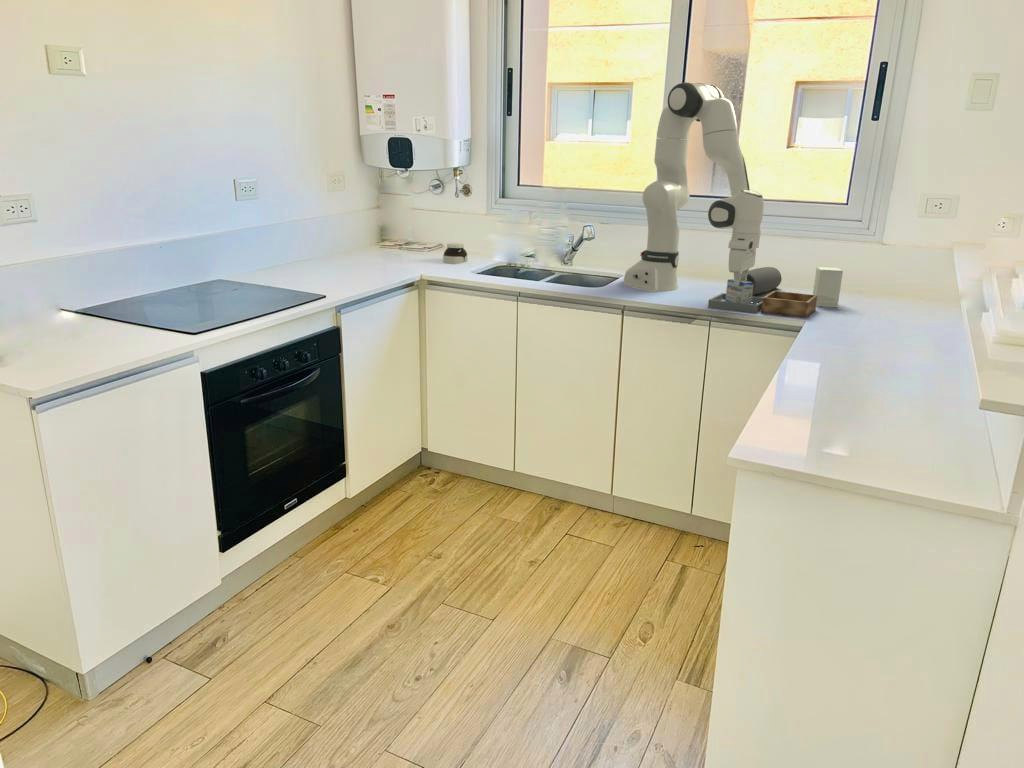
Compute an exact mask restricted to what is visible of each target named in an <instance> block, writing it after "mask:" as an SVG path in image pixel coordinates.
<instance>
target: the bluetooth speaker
mask: <svg viewBox="0 0 1024 768" xmlns="http://www.w3.org/2000/svg"><path fill="white" fill-rule="evenodd" d="M741 274H742V272H741ZM782 280H783V279H782V274H781V271H780V270H779V269H778V268H776V267H772V266H766V267H765V266H763V267H758V268H757V267H756V268H754V269H749V272H748V275H747V280H746V281H748V282H753V283H754V285H753V293H752V296H753V297H754V296H757V295H758V296H759V295H762V294H765V293H768V292H770V291H771V292H772V290H773V291H774V290H775V289H776V288H778V287H779V286H780V285H781V283H782Z"/></svg>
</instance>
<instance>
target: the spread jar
mask: <svg viewBox="0 0 1024 768" xmlns="http://www.w3.org/2000/svg"><path fill="white" fill-rule="evenodd" d="M464 246H465V244H464V243H463V242H448V243H446V247H447V248H445V251H444V253H443V256H442V257H443V258H442V259H443V261H442V262H443V263H444V264H449V265H460V264H465V263H467V262H468V252H467V251H466V249H465V248H464Z"/></svg>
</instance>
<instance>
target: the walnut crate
mask: <svg viewBox="0 0 1024 768" xmlns="http://www.w3.org/2000/svg"><path fill="white" fill-rule="evenodd" d="M762 298H763V301H762V310H761V311H760V313H761V314H770V315H776V316H783V317H792V318H802V319H807V318H809V317H810V316H811V315H812V314H813V313H814V312H815V311H816V310H817V309H816V308H817V306H816V302H817V295H813V294H810V293H809V294H808V293H799V292H791V291H790V292H789V291H779V290H773V291H771V292H769V293H767V294H766V295H764V296H763V297H762Z"/></svg>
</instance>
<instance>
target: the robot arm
mask: <svg viewBox="0 0 1024 768" xmlns="http://www.w3.org/2000/svg"><path fill="white" fill-rule="evenodd" d="M667 95H668V96H667V106H666V107H665V108H664V109H663V110H662V111H661V113H660V118H659V120H658V126H657V131H656V139H655V140H656V141H655V148H654V149H655V150H654V159H653V160H654V164H655V167H656V174H657V180H655V181H654V182H651V183H650V184H649V185H647V186H646V187H645V189H644V191H643V192H642V202H643V205H644V207H645V210H646V217H647V218H646V220H647V242H646V243H647V246H646V249H644V250H643V251H642V252H640V256H641V259H640V260H639V261H638V262H636V263H635V264H633V265H632V266H631V267H629V268H628V269H627V270H626V271H625V273H624V276H623V281H622V285H624V286H626V287H627V288H632V289H635V290H641V291H645V292H650V293H651V292H654V293H655V292H672V291H677V290H679V283H678V271H677V270H678V269H677V268H678V265H679V259H680V258H679V257H680V255H679V253H680V252H679V251H678V250H679V239H680V226H679V225H678V219H677V211H679V210H680V209H682V208H683V207H684V206H685V205H686V204H687V203H688V202H689V199H690V189H689V186H688V171H687V160H688V159H687V157H688V151H689V150H688V149H689V139H690V130H691V126H692V124H693V122H694V121H696V122H700V124H701V130H702V133H701V134H702V145H703V149H704V150H703V151H704V153H705V155H706V157H707V158H708V159H709V160H710V161H711V162H713V163H714V164H716V165H718V166H719V167H721V168H722V170H724V172H725V173H726V175H727V178H728V184H729V191H730V196H729V197H725V198H722V199H719V200H718V199H717V200H715V201H714V202H713V203H711V205H710V206H709V209H708V212H707V218H708V219H707V220H708V222H709V223H710V225H711V226H712V227H714V228H715V229H718V230H719V229H721V230H724V229H725V230H726V229H727V230H728V229H729V230H730V229H732V233H731V239H730V240H729V242H728V249H729V255H728V272H729V273H732V274H733V279H734V285H740V282H741V280H743V281H746V280H747V275H748V272H749V270H750V269H751V268H753V267H754V266H755V264H756V256H757V255H756V254H757V249H758V248H759V247H760V239H761V223H762V221H763V216H764V206H765V205H764V202H765V201H764V198H763V197H764V196H763V195H762V194H761V193H760V192H758V191H755V190H751V189H750V185H749V184H750V183H749V178H748V172H747V167H746V161H745V158H744V155H743V153H742V150H741V147H740V142H739V135H738V125H737V118H736V113H735V109H734V105H733V103H732V101H731V100H729V99H727V98H725V96H724V93H723V92H722V90H721V89H719V88H718V87H717V86H716V85H712V84H706V83H701V82H695V83H694V82H681V83H677V84H676V85H674V86H673V87H672V88H671V89H670V91H669V93H668V94H667ZM640 256H639V257H640ZM741 273H742V274H741Z"/></svg>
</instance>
